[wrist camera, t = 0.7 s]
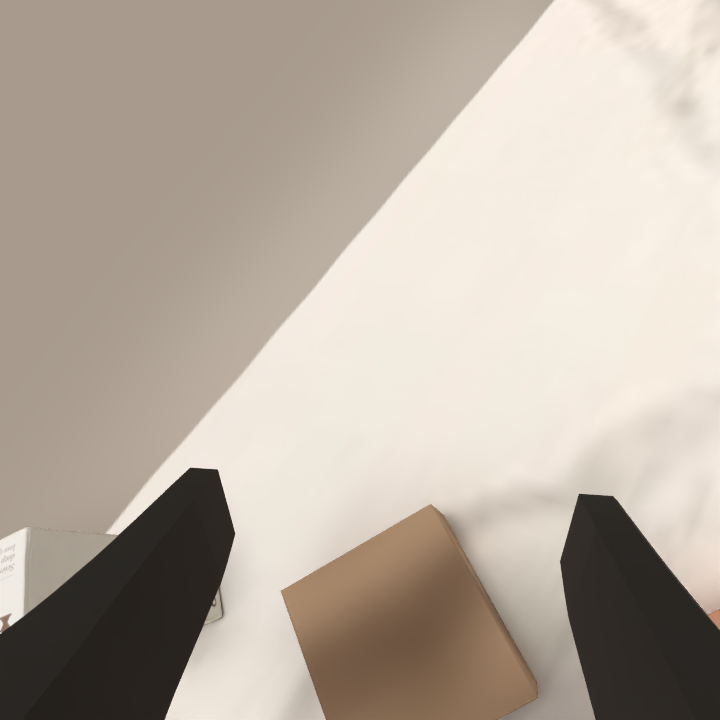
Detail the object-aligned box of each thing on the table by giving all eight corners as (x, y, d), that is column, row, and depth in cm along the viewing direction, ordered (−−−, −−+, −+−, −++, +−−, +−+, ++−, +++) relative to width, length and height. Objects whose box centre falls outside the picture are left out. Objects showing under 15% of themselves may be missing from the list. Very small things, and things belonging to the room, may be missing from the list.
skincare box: (212, 540, 29) (31, 512, 18) (227, 622, 27) (30, 644, 16) (123, 578, 30) (-101, 573, 19) (130, 662, 28) (-118, 707, 17)
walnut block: (536, 680, 22) (537, 697, 19) (380, 766, 22) (353, 798, 19) (443, 515, 26) (430, 503, 22) (313, 590, 26) (280, 591, 23)
